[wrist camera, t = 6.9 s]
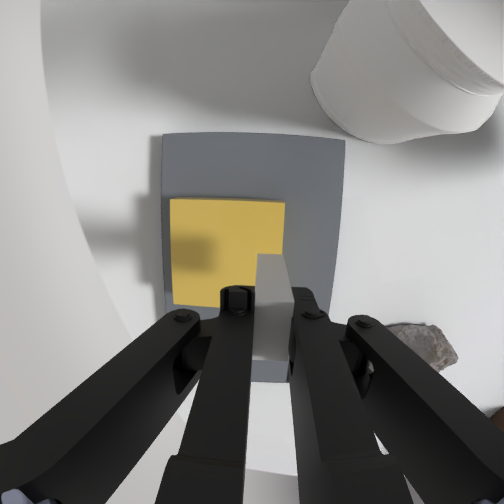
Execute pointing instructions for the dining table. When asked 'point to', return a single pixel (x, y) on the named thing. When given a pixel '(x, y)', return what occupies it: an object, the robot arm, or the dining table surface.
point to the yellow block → (220, 244)
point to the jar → (412, 68)
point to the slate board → (263, 187)
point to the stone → (426, 344)
